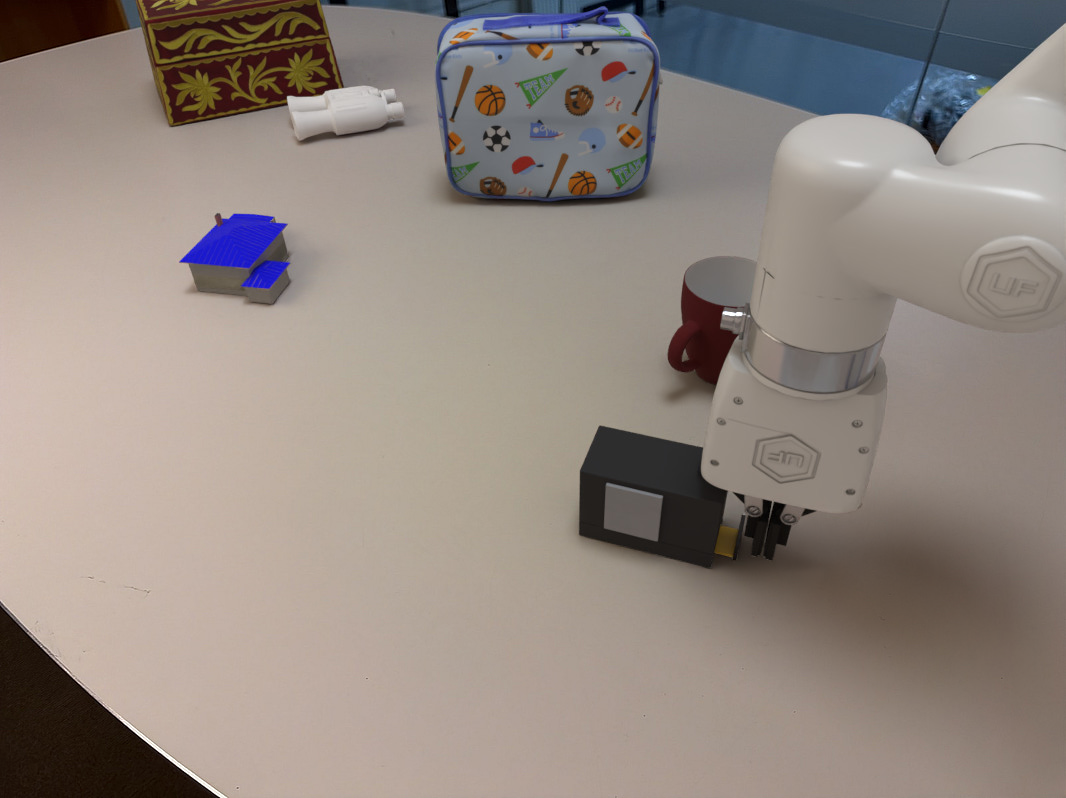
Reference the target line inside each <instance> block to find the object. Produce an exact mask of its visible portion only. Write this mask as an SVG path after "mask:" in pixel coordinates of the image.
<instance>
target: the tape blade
mask: <svg viewBox="0 0 1066 798" xmlns="http://www.w3.org/2000/svg"><path fill="white" fill-rule="evenodd" d="M746 519H747V514H746V515H745V514H741V517H740V521H739V526H738V528H734V527H730V526H726V525H722V524H721V525H720V530H719V534H718V538H717V543H716V547H715V552H714V554H717V555H720V556H721V555H722V556H726V557H728V558H729V557H730V558H731V559H732V560H731V561H734V562H737V560H738V556H739V551H740V546H741V542H742V536H743V531H744V528H745V524H746V523H745V522H746Z"/></svg>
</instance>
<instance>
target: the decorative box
mask: <svg viewBox="0 0 1066 798" xmlns="http://www.w3.org/2000/svg"><path fill="white" fill-rule="evenodd" d="M134 2H135V5H136V9H137V13H138V18H139V21H140V26H141V30H142V31H141V32H142V35H143V38H144V43H145V48H146V52H147V56H148V59H149V63H150V64H149V65H150V68H151V73H152V77H153V80H154V84H155V89H156V92H157V94H158V97H159V100H160V103H161V107H162V110H163V112H164V116H165V118H166V121H167V124H168V125H169V127H170V126H171V127H172V126H180V125H185V124H191V123H196V122H201V121H207V120H212V119H217V118H222V117H227V116H232V115H238V114H243V113H249V112H253V111H254V112H255V111H259V110H264V109H269V108H275V107H279V106H285V105H288V102H287V96H294V97H316V96H321V95H323V94H324V93H325V91H329V90H335V89H342V88H345V86H344V82H343V79H342V75H341V71H340V67H339V63H338V60H337V57H336V53H335V50H334V45H333V43H332V39H331V37H330V32H329V28H328V23H327V21H326V17H325V13H324V10H323V7H322V2H321V0H134Z"/></svg>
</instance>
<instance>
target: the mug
mask: <svg viewBox="0 0 1066 798" xmlns="http://www.w3.org/2000/svg"><path fill="white" fill-rule="evenodd" d="M756 266H757V261H755V260H752V259H750V258H747V257H746V258H745V257H740V256H733V255H732V256H731V255H719V256H711V257H707V258H704V259H701V260H698V261H696V262H694V263H692V264H691V265H690V266H689V267H688V268H687V269H686V270H685V271H684V274H683V279H682V286H681V293H680V294H681V295H680V314H681V322H682V323H681V324H682V325H681V326H679V327H678V328H677V329H676V331H675V332H674V334H673V335H672V337H671V339H670V341H669V345H668V348H667V361H668V364H669V365H670V367H671V368H673V369H674V370H675V371H677V372H680V373H685V374H686V373H690V372H693V371H694V372H695V374H696V375H697V376H698V378H700V379H701V380H702V381H703V382H705V383H709V384H712V385H717V382H718V379H719V375H720V372H721V370H722V367H723V364H724V362H725V360H726V357H727V355H728V353H729V351H730V349H731V347H732V345H733V343H734V341H735V339H736V338H737V337H738V336H739V334H733V333H732V332H733V331H730V330H724V329H720V326H721V319H722V314H723V310H724V307H728V308H734V309H737V307H742V308H744V307H745V303H750V300H751V295H752V289H753V283H754V277H755V272H756ZM684 352H685V353H686V356H687V359H686V360H683V355H684Z"/></svg>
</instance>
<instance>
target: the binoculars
mask: <svg viewBox="0 0 1066 798" xmlns="http://www.w3.org/2000/svg"><path fill="white" fill-rule="evenodd" d="M287 102H288V104H287V106H288V112H289V117H290V121H291V123H292V128H293V130H294V134H295V137H296V139H297V141H304V140H305V139H307V138H309V137H310V138H311V137H313V136H316V135H320V134H323V133H329V132H333V133H335V134H336V136H343V135H348V134H355V133H362V132H367V131H368V132H369V131H375V130H378V129H380V128H383V127H384V126H385V125H386V124H388V121H390V120H392V121H393V120H399V119H404V118H405V109H404V105H403V103H402V101H397V95H396V90H395V89H394V88H387V89H382V90H381V89H380V90H379V89H378V88H377V87H373V86H371V85H359V86H358V85H356V86H350V87H344V88H342V89H335V90H329V91H325V93H324V94H323V95H321V96H316V97H294V96H287Z"/></svg>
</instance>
